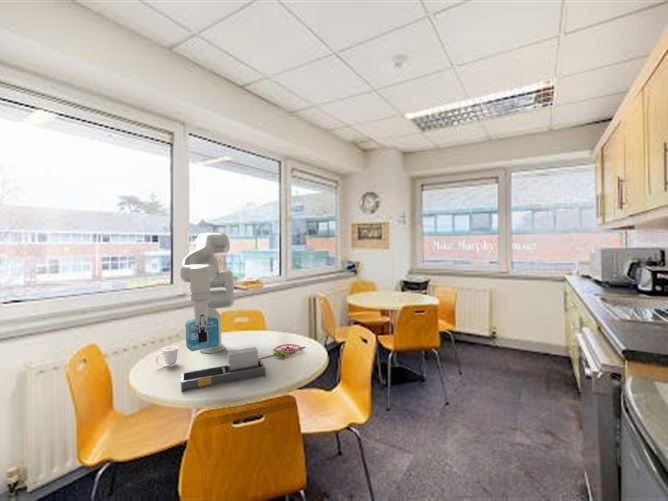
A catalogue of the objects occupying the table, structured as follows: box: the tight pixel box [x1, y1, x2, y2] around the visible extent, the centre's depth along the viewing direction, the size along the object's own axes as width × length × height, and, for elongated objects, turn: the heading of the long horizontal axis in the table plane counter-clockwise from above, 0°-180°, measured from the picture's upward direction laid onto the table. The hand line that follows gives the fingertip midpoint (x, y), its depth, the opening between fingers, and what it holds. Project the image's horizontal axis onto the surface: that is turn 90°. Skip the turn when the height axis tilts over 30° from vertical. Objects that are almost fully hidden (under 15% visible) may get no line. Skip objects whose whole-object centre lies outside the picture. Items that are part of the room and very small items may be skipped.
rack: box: [180, 346, 267, 392], centre depth 144 cm, size 11×33×11 cm, turn 114°
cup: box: [155, 345, 179, 368], centre depth 160 cm, size 7×10×8 cm
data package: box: [185, 316, 219, 352], centre depth 140 cm, size 12×4×12 cm, turn 128°
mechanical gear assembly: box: [258, 343, 306, 360], centre depth 174 cm, size 30×4×15 cm
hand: (202, 339), depth 140 cm, fingers closed on data package, 5 cm apart
